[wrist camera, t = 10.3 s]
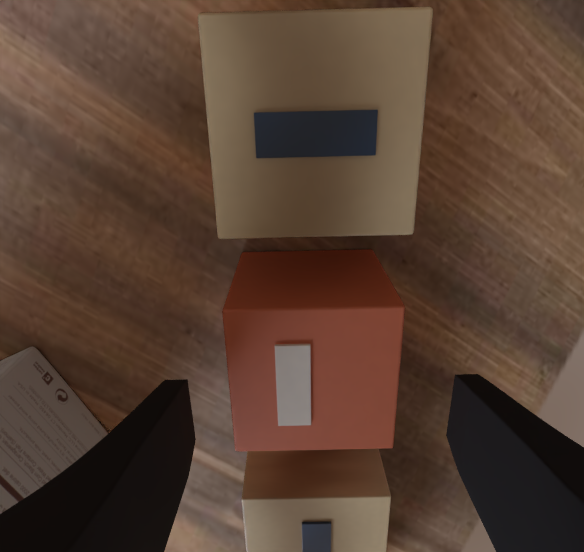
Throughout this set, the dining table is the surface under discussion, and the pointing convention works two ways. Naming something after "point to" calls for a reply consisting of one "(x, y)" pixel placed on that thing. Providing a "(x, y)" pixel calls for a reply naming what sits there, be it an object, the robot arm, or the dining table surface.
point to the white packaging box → (38, 426)
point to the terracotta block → (313, 351)
